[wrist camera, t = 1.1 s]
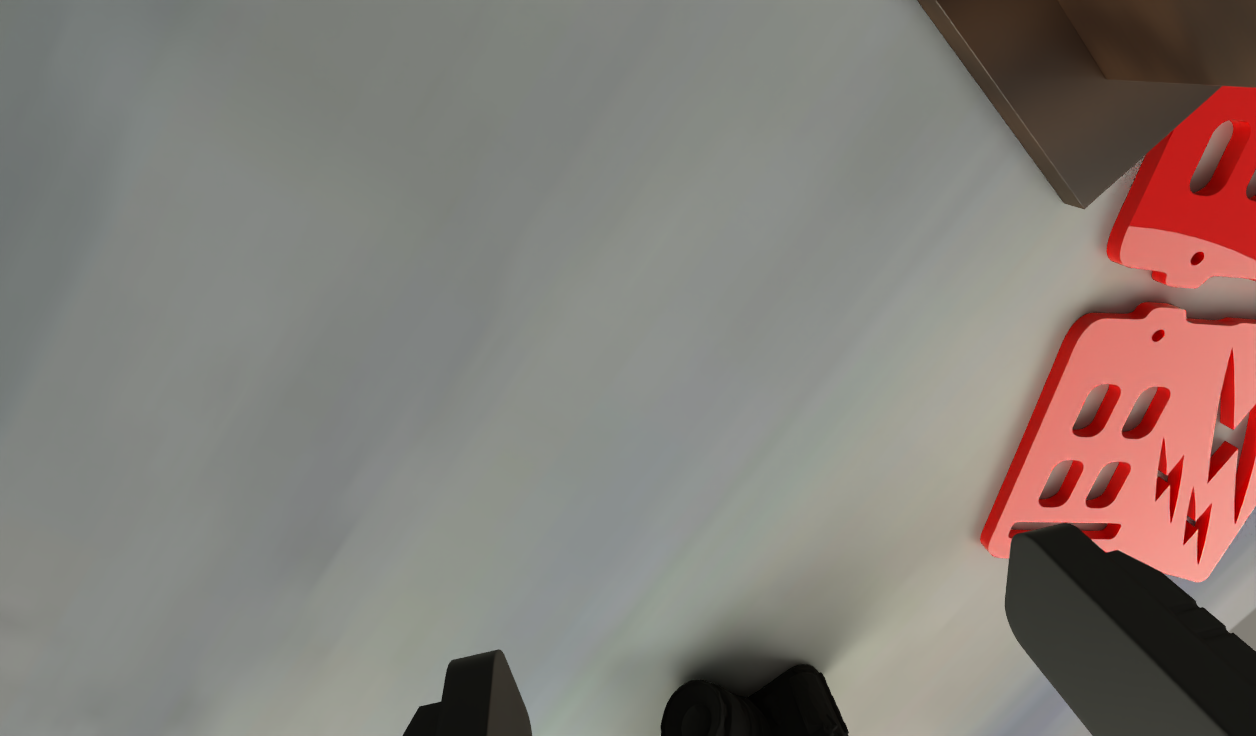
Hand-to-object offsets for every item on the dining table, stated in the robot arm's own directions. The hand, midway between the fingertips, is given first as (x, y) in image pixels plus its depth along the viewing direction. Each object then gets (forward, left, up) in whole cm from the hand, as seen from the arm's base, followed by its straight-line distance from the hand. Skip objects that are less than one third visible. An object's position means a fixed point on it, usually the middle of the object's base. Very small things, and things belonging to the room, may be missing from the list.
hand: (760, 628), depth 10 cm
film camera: (+32, -23, -26) cm, 48 cm away
